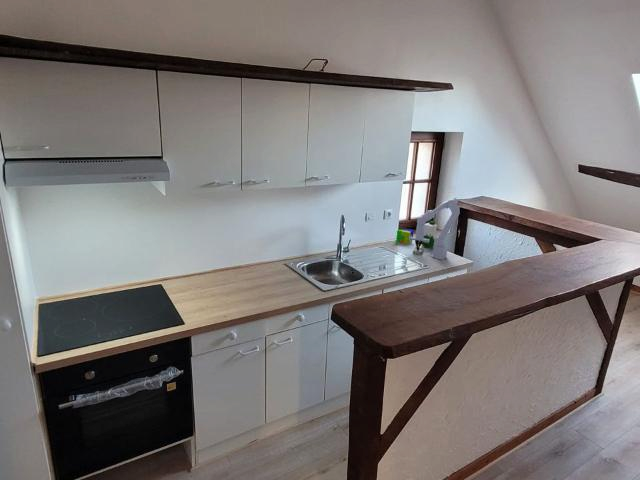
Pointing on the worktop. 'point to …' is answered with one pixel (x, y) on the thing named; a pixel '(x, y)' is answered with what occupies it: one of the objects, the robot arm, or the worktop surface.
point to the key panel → (418, 251)
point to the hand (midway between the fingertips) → (417, 250)
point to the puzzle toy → (404, 235)
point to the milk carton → (429, 234)
